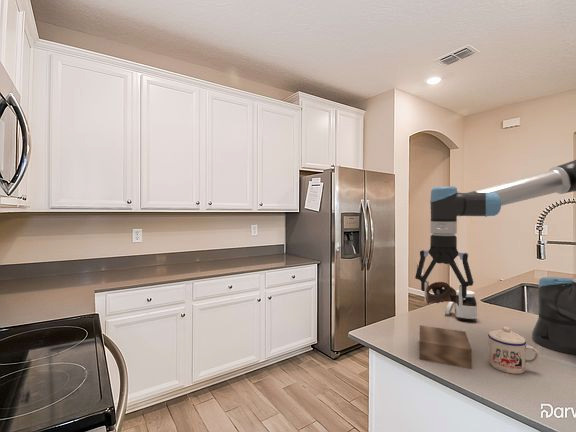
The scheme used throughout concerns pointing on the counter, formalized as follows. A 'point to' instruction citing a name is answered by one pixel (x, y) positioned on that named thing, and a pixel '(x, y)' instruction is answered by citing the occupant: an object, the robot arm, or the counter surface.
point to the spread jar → (464, 307)
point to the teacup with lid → (508, 351)
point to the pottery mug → (441, 293)
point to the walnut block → (445, 346)
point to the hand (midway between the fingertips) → (443, 303)
